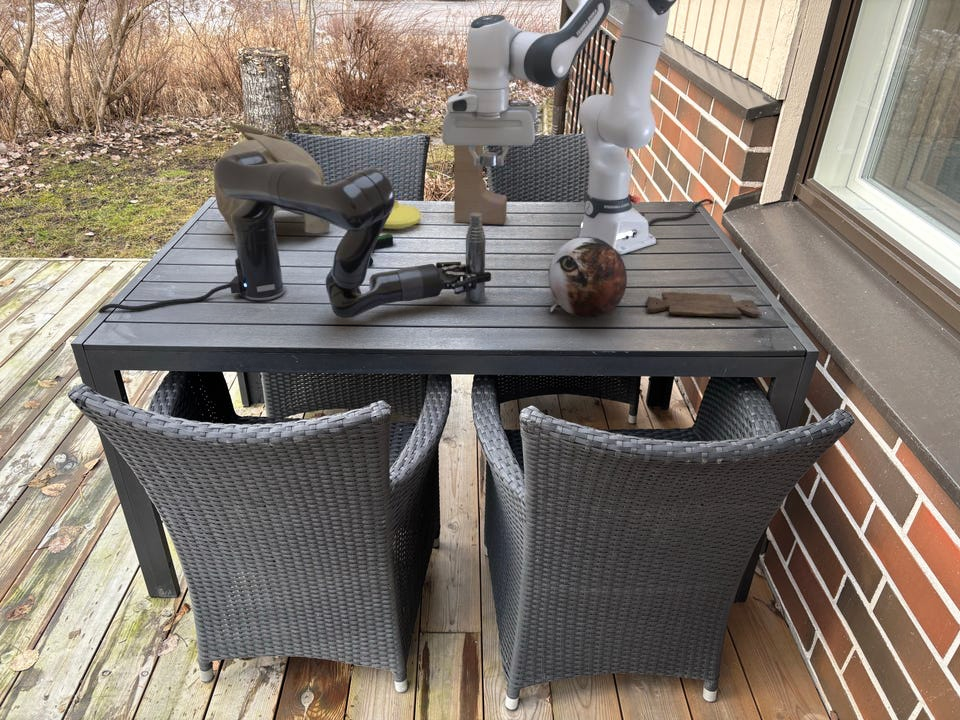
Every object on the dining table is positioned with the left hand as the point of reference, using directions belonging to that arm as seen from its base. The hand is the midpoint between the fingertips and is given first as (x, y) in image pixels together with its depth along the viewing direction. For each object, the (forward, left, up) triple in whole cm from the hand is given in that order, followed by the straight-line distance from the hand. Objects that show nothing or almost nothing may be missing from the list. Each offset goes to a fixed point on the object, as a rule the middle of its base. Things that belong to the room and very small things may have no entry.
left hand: (485, 272), depth 167 cm
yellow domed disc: (-28, +47, -7) cm, 56 cm away
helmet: (-61, +39, -7) cm, 73 cm away
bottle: (-2, -1, -7) cm, 7 cm away
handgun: (-32, +24, -7) cm, 40 cm away
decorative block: (-3, +54, -7) cm, 54 cm away
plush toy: (+23, -6, -7) cm, 25 cm away
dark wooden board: (+51, -2, -7) cm, 51 cm away
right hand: (0, +5, +24) cm, 24 cm away
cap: (0, +5, +26) cm, 26 cm away
